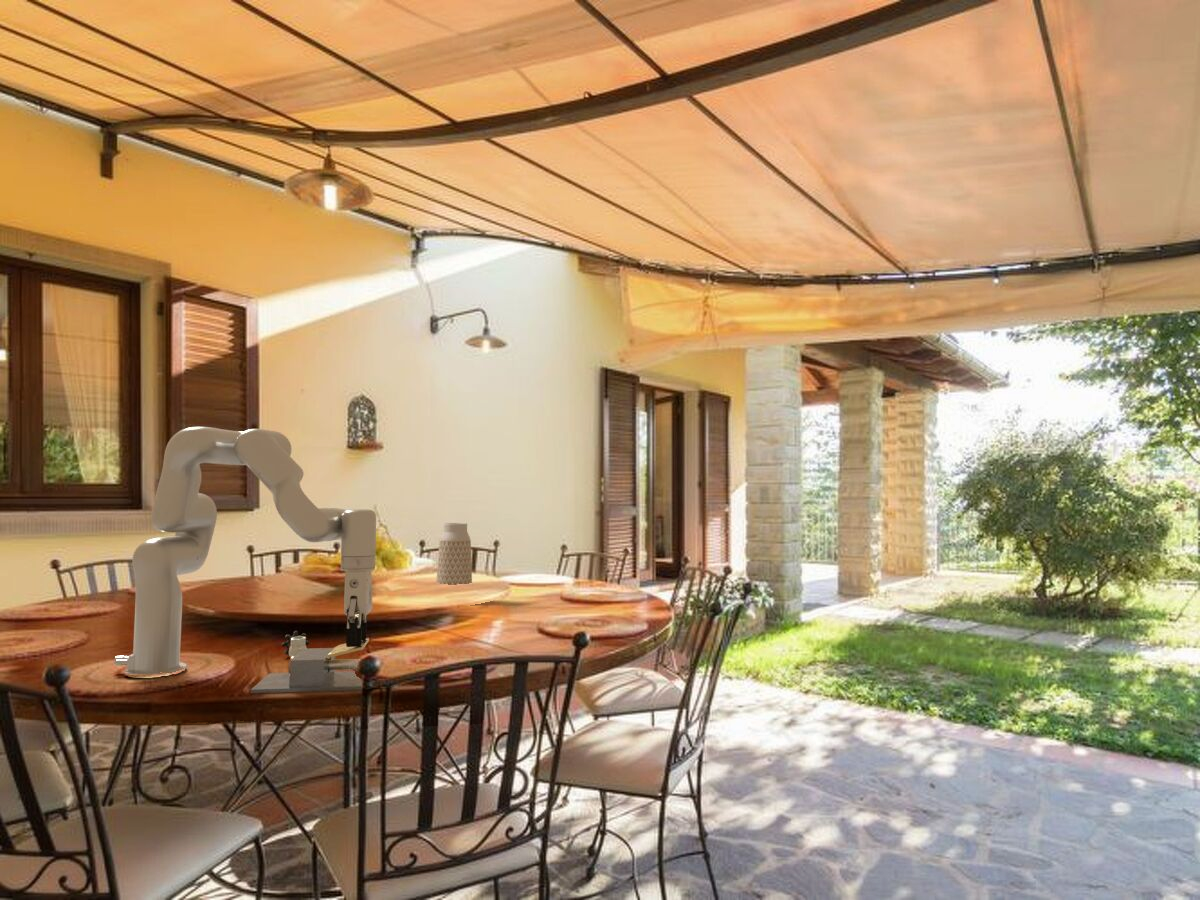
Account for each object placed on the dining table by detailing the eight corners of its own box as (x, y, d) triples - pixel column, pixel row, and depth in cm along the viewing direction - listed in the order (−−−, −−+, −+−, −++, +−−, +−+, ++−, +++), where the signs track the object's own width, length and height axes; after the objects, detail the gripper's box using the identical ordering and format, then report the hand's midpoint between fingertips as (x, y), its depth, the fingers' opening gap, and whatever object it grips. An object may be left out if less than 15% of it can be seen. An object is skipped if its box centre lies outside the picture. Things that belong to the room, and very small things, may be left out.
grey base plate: (250, 693, 155) (251, 662, 155) (269, 676, 169) (270, 648, 169) (363, 689, 159) (363, 659, 159) (372, 674, 173) (373, 646, 173)
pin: (288, 678, 161) (288, 658, 161) (293, 673, 165) (293, 653, 165) (355, 676, 163) (355, 656, 163) (358, 671, 168) (358, 652, 168)
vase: (468, 604, 280) (470, 524, 281) (432, 604, 279) (434, 523, 281) (474, 599, 293) (475, 522, 295) (439, 599, 293) (441, 522, 295)
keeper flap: (325, 660, 160) (325, 655, 160) (334, 650, 170) (334, 646, 170) (362, 651, 161) (361, 646, 161) (369, 642, 171) (368, 638, 171)
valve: (312, 665, 181) (308, 655, 192) (313, 638, 181) (309, 629, 192) (283, 667, 178) (281, 657, 189) (284, 640, 179) (282, 631, 189)
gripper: (369, 567, 159) (367, 650, 158) (380, 559, 176) (378, 635, 175) (333, 567, 158) (331, 652, 157) (347, 560, 175) (346, 636, 174)
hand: (356, 642), depth 166 cm, fingers open, 6 cm apart
